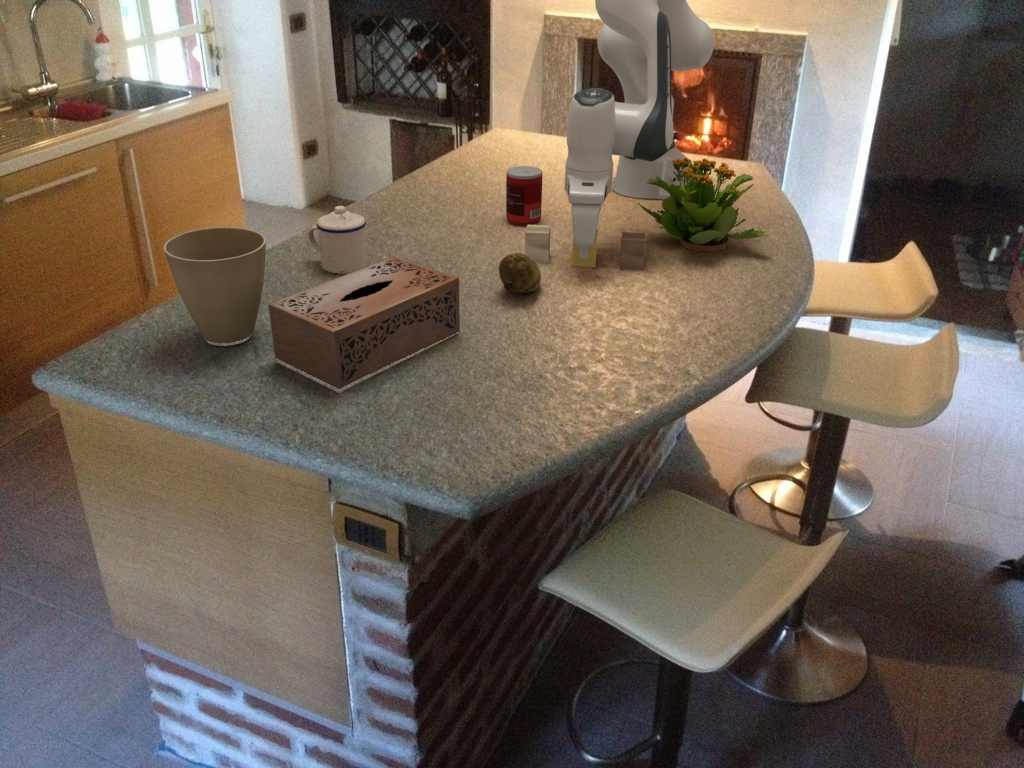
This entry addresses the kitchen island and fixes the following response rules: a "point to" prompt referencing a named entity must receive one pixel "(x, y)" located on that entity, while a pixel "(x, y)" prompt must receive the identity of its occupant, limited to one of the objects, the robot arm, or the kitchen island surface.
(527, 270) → the potato
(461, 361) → the kitchen island surface
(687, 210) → the potted flower
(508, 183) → the canned food
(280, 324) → the tissue box cover
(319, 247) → the teacup with lid
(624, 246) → the walnut block
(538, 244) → the birch block
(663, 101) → the robot arm
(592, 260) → the mustard block
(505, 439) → the kitchen island surface
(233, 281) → the plant pot
